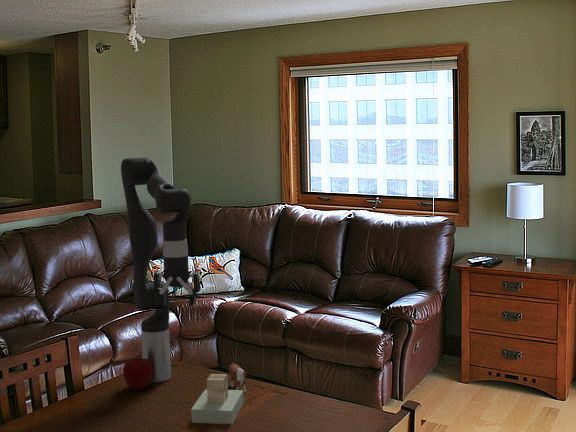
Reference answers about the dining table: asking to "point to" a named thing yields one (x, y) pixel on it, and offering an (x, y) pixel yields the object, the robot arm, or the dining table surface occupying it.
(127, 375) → the apple
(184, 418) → the dining table surface
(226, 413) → the plinth
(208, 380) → the maple block
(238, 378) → the bull figurine
